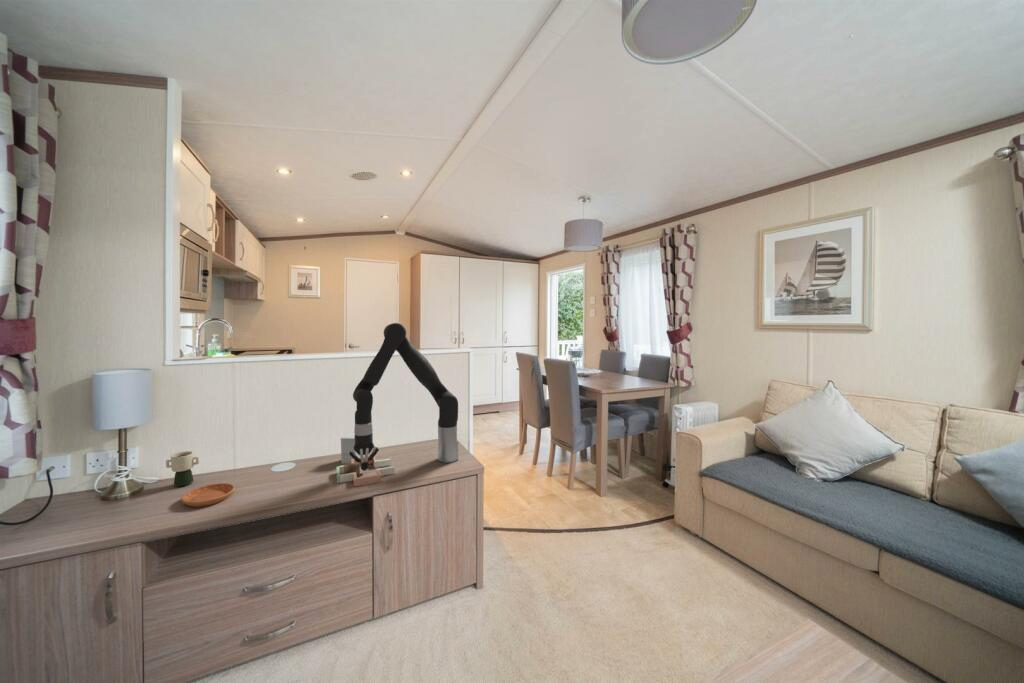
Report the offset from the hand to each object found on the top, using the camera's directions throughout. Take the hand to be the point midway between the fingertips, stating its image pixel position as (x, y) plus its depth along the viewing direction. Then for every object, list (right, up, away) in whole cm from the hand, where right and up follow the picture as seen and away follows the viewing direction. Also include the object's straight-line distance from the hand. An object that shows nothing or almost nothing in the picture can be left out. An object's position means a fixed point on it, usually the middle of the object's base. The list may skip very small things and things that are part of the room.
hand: (364, 470), depth 172 cm
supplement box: (-12, -1, +14) cm, 19 cm away
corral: (+1, -2, 0) cm, 2 cm away
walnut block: (-5, -2, -2) cm, 6 cm away
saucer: (-51, -3, -24) cm, 56 cm away
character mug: (-71, -2, -13) cm, 72 cm away
